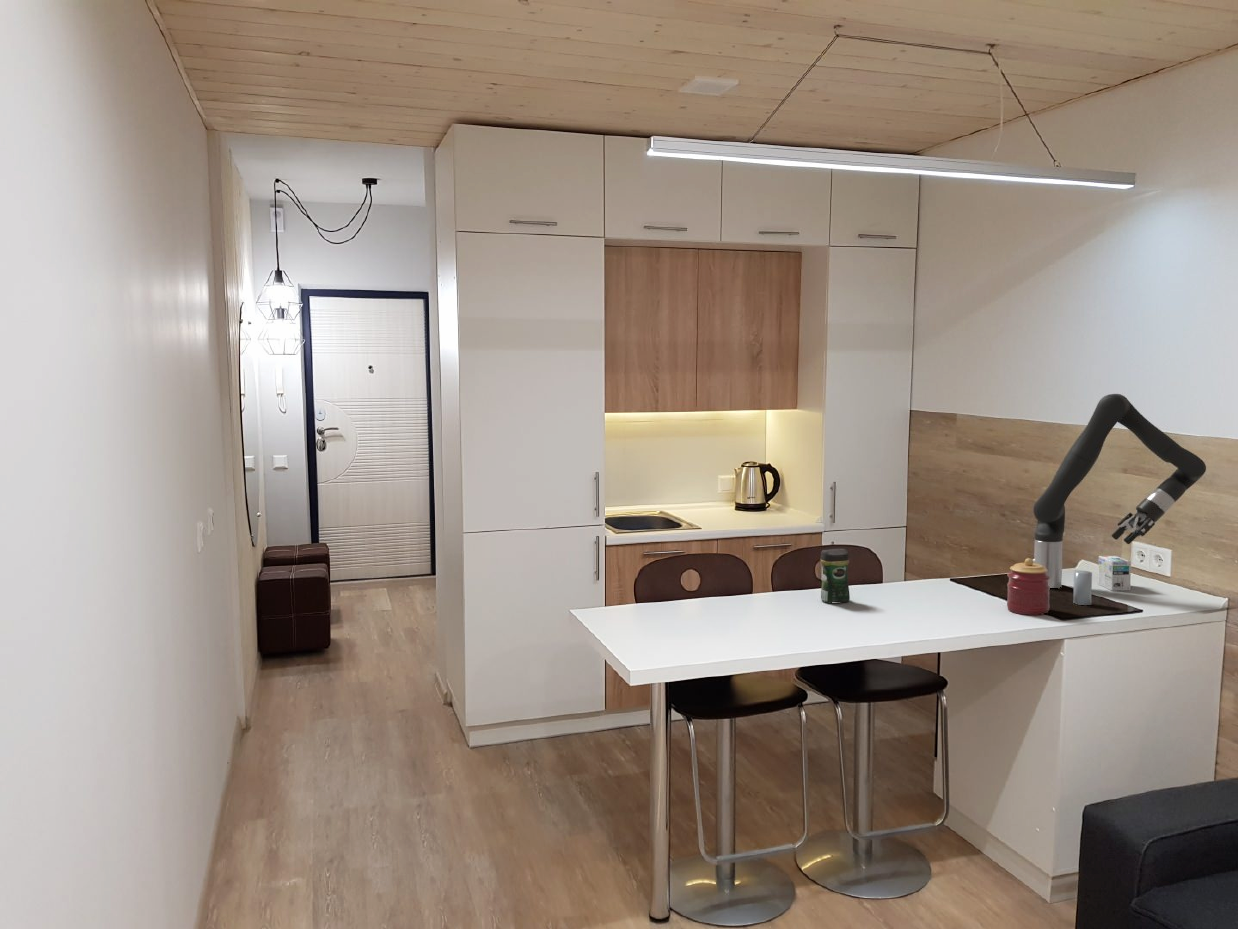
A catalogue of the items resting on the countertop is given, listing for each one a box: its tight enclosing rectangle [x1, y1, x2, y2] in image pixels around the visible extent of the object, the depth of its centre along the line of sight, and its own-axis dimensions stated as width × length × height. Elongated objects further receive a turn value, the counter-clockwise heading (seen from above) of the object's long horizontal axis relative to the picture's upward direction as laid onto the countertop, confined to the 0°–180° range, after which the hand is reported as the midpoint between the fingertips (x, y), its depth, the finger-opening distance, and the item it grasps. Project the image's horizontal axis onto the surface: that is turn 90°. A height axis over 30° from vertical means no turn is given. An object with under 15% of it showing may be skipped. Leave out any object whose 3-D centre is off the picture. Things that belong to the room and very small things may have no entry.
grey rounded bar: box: [1072, 570, 1093, 605], centre depth 314 cm, size 5×5×11 cm
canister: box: [1006, 557, 1051, 616], centre depth 307 cm, size 13×13×18 cm
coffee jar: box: [820, 548, 851, 604], centre depth 326 cm, size 10×8×19 cm
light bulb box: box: [1097, 555, 1132, 592], centre depth 336 cm, size 11×7×11 cm, turn 179°
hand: (1119, 540), depth 312 cm, fingers open, 8 cm apart
